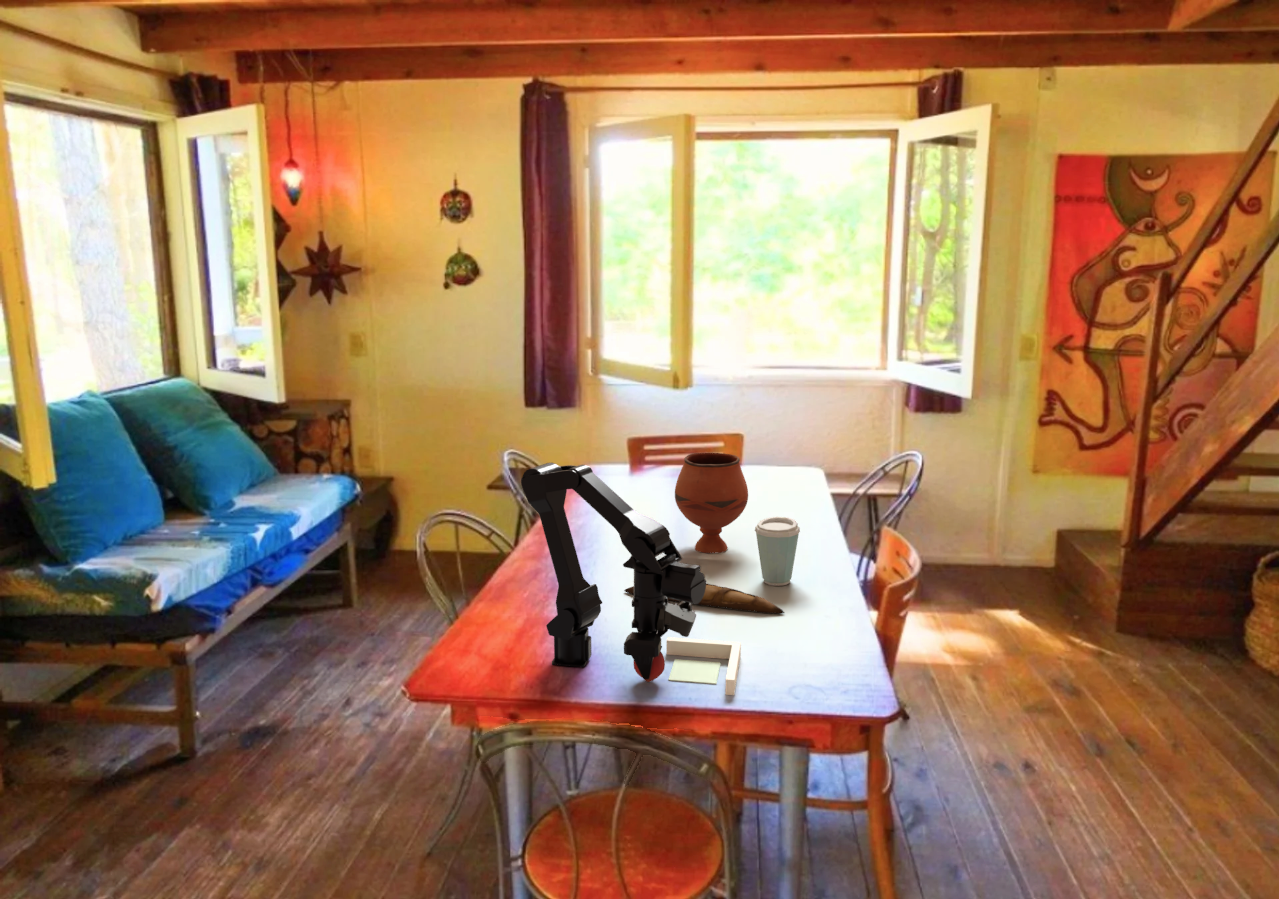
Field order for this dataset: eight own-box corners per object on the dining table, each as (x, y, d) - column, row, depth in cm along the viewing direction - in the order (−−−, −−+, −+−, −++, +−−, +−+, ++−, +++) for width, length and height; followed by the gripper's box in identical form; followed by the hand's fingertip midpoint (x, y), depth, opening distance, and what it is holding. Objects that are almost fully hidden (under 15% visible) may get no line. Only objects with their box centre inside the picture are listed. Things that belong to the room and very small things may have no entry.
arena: (654, 688, 175) (654, 673, 174) (667, 651, 191) (667, 637, 190) (734, 695, 172) (734, 680, 172) (740, 656, 188) (740, 642, 188)
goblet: (664, 541, 260) (665, 452, 254) (729, 534, 265) (731, 447, 260) (688, 563, 242) (690, 468, 236) (758, 556, 247) (760, 463, 242)
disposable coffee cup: (784, 592, 222) (786, 531, 219) (744, 582, 228) (746, 523, 225) (805, 580, 230) (808, 520, 227) (766, 570, 237) (768, 512, 233)
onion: (663, 674, 181) (664, 635, 179) (665, 688, 175) (665, 647, 173) (633, 674, 180) (633, 635, 179) (634, 688, 175) (634, 648, 173)
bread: (620, 597, 220) (619, 577, 219) (627, 590, 225) (627, 570, 223) (782, 620, 207) (783, 598, 206) (787, 611, 212) (787, 590, 211)
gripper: (686, 615, 164) (685, 698, 167) (698, 577, 182) (697, 653, 185) (623, 610, 165) (623, 693, 169) (641, 574, 183) (641, 649, 187)
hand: (649, 671), depth 177 cm, fingers closed on onion, 6 cm apart
